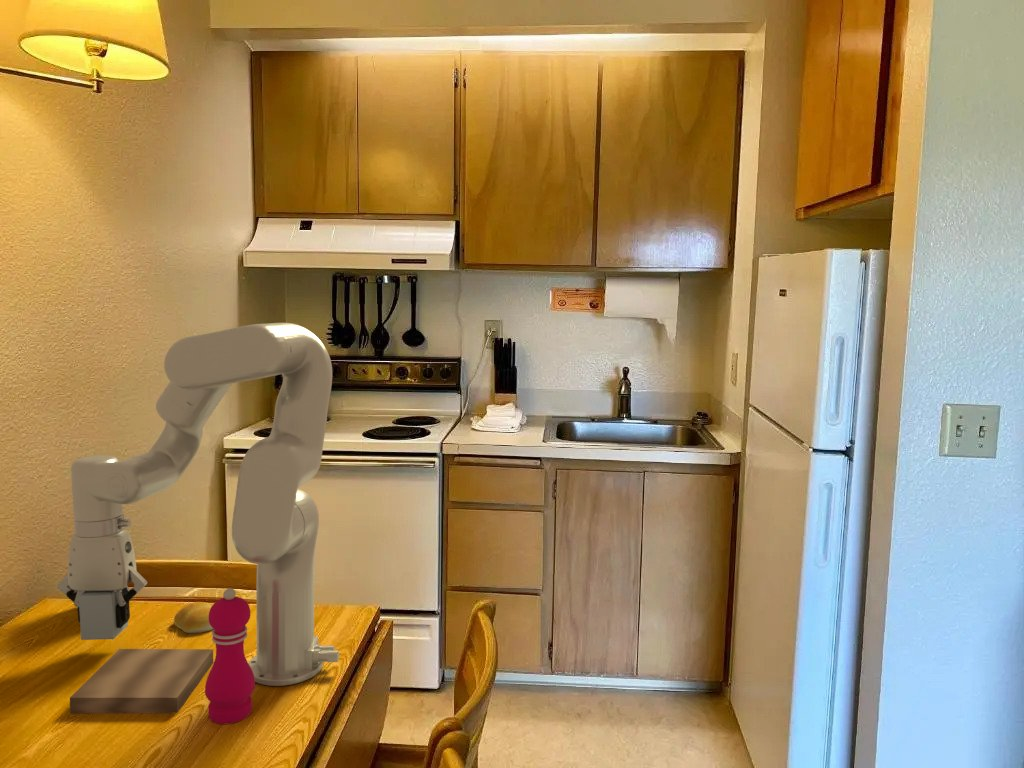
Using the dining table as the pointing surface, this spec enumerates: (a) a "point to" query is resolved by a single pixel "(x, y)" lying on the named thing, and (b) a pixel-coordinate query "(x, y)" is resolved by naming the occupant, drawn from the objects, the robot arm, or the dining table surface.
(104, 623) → the slate block
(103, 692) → the walnut base
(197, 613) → the bread roll
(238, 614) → the pepper mill
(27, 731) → the dining table surface
